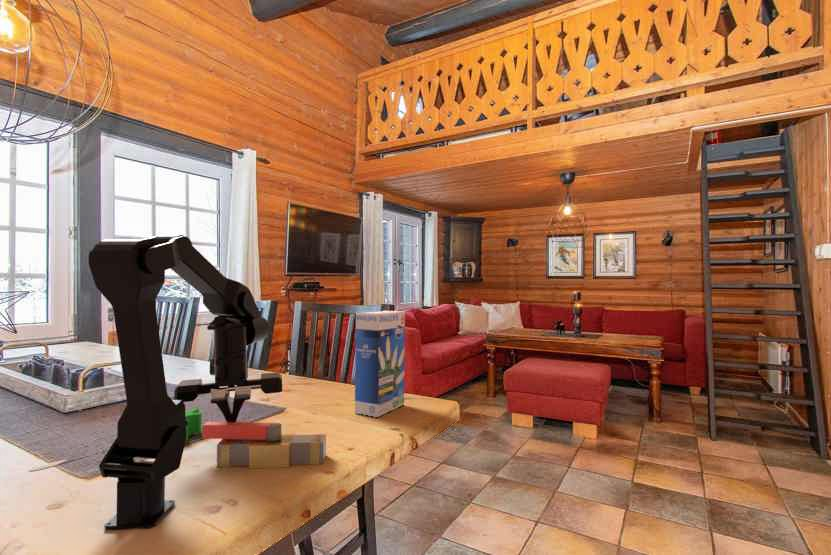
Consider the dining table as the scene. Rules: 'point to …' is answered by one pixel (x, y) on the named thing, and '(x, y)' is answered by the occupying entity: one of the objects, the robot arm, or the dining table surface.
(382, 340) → the string lights box
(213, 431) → the lever
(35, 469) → the butter knife
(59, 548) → the dining table surface
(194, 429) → the pipe clamp
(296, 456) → the block
